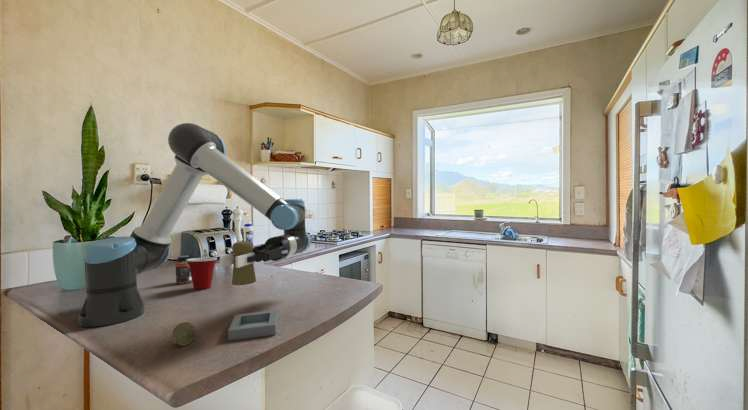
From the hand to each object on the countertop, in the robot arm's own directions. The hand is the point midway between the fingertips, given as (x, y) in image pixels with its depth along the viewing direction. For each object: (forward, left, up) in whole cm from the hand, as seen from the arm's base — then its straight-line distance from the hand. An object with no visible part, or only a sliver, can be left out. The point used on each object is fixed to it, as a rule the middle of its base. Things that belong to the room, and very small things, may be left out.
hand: (229, 262), depth 77 cm
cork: (+3, +5, -7) cm, 9 cm away
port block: (+5, +3, -19) cm, 20 cm away
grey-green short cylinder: (-10, -1, -19) cm, 22 cm away
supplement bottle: (-29, +64, -19) cm, 72 cm away
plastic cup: (-19, +52, -19) cm, 58 cm away
